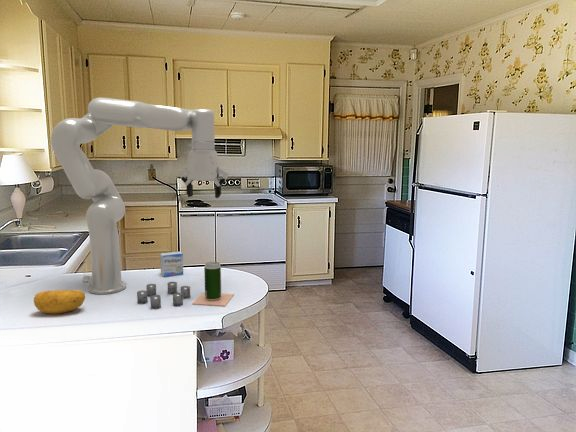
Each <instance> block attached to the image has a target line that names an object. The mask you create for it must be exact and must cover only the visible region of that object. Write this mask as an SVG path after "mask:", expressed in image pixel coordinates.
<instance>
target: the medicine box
mask: <svg viewBox="0 0 576 432" xmlns="http://www.w3.org/2000/svg"><path fill="white" fill-rule="evenodd" d="M159 257H160V258H159V259H160V260H159V261H160V262H159V263H160V275H161V276H162V277H163V278H169V277H176V276H182V275H184V255H183V252H181V251H172V252H170V251H169V252H162V253H159Z"/></svg>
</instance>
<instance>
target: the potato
mask: <svg viewBox="0 0 576 432" xmlns="http://www.w3.org/2000/svg"><path fill="white" fill-rule="evenodd" d="M85 300H86V295H85V292H84V291H82V290H78V289H70V290H69V289H56V290H43V291H39V292H38V293H36V294H35V295H34V297H33V303H34V306H35V307H36V309H37V311H40V312H42V313H44V314H50V315H51V314H52V315H53V314H62V313H67V312H72V311H74V310H77V309H78V308H79V307H81V306H82V305H83V303H84V302H85Z"/></svg>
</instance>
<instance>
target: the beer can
mask: <svg viewBox="0 0 576 432" xmlns="http://www.w3.org/2000/svg"><path fill="white" fill-rule="evenodd" d="M221 271H222V267H221V263H220V262H218V261H209V262H205V263H204V271H203V272H204V274H203V275H204V292H205V298H206V300H208V301H217V300H219V299H220V298H221V293H222V272H221Z"/></svg>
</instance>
